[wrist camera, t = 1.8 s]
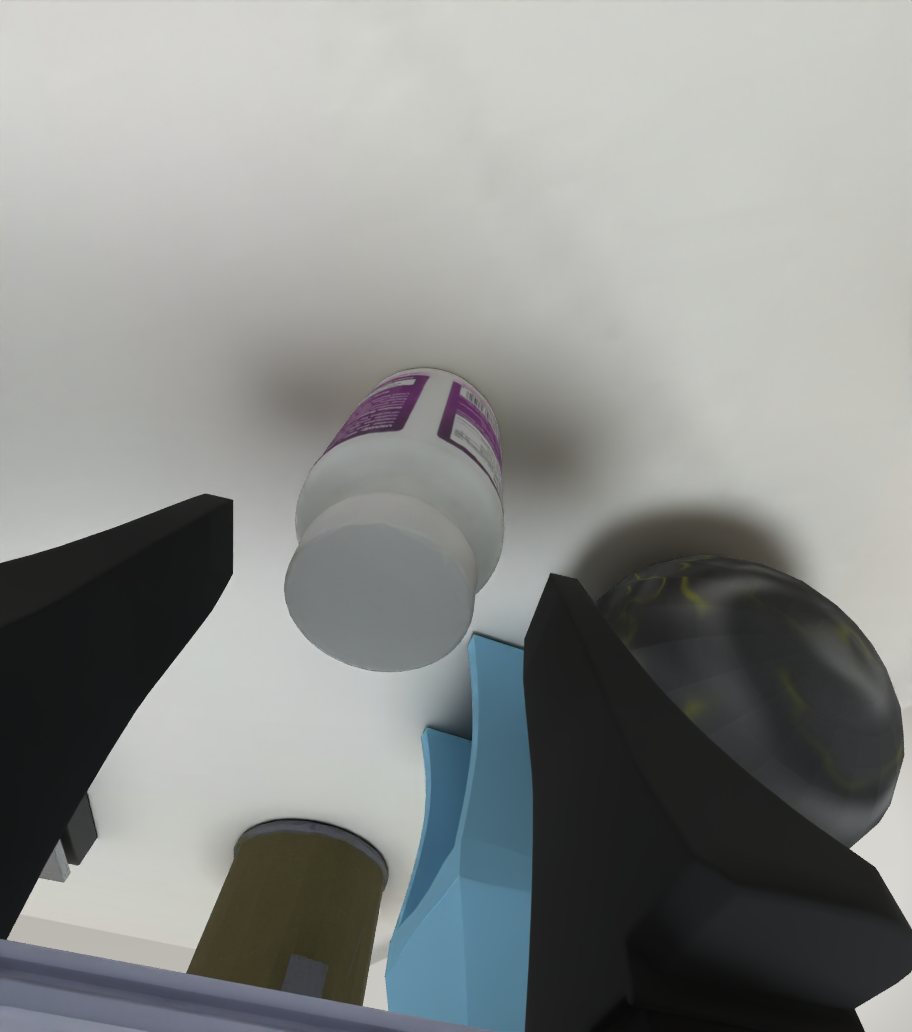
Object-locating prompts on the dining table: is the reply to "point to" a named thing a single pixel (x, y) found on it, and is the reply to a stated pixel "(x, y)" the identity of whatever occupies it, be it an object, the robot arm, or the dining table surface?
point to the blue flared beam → (472, 863)
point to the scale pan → (56, 865)
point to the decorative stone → (770, 682)
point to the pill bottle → (399, 524)
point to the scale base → (79, 834)
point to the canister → (296, 912)
